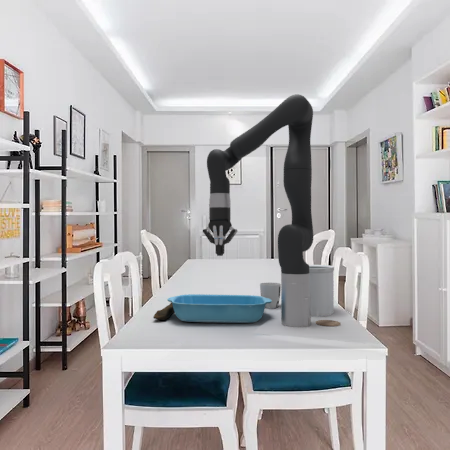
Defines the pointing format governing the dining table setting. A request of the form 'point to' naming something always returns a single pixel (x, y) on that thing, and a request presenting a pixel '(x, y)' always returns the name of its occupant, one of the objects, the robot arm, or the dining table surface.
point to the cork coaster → (328, 323)
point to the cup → (271, 293)
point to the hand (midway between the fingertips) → (219, 255)
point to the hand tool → (164, 312)
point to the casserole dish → (219, 308)
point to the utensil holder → (321, 289)
